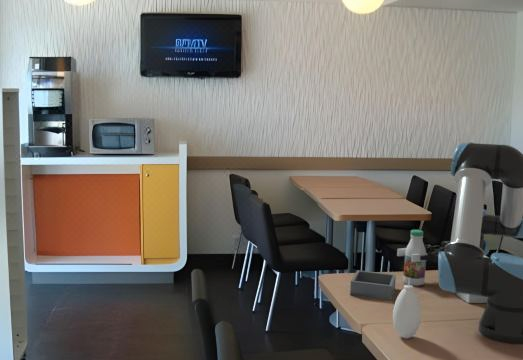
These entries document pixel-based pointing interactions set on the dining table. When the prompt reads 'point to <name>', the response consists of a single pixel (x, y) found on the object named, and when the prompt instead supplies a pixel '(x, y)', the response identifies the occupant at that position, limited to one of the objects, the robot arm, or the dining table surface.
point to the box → (373, 285)
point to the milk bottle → (414, 268)
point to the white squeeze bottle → (407, 312)
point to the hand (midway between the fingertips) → (404, 255)
